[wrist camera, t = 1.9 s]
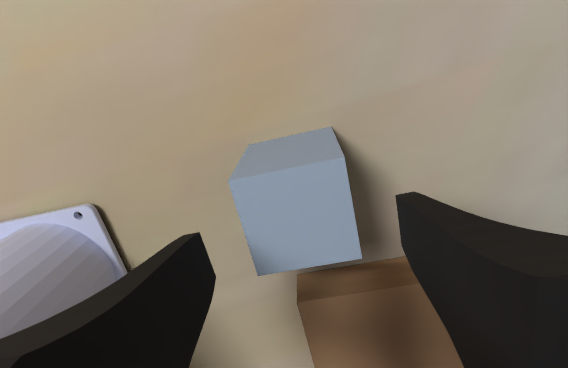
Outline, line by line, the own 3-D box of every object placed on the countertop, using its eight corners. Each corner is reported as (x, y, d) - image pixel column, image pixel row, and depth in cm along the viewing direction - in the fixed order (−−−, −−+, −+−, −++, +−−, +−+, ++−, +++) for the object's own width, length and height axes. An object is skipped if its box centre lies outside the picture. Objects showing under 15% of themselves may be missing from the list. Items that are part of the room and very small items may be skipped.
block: (269, 217, 19) (257, 275, 14) (248, 144, 18) (227, 181, 12) (345, 202, 19) (362, 258, 13) (331, 126, 17) (344, 157, 12)
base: (323, 375, 24) (326, 410, 21) (297, 274, 20) (296, 302, 18) (452, 359, 22) (470, 393, 20) (444, 249, 19) (464, 276, 17)
